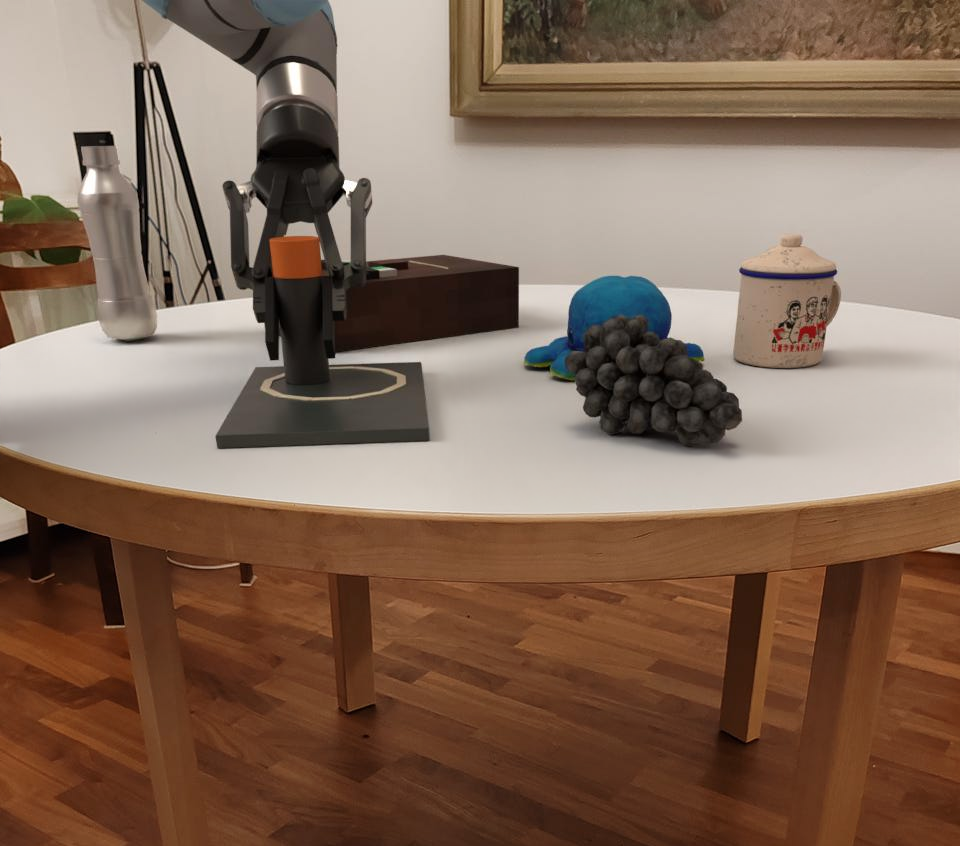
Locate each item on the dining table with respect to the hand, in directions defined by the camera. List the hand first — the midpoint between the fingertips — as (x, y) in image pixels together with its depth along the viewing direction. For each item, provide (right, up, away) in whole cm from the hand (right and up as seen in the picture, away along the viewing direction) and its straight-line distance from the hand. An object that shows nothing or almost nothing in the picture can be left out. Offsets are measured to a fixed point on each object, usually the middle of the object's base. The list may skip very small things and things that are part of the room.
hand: (300, 349), depth 84 cm
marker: (0, -1, +5) cm, 5 cm away
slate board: (+3, -5, +1) cm, 5 cm away
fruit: (+29, -10, -9) cm, 31 cm away
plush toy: (+29, +2, +13) cm, 32 cm away
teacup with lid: (+47, +3, +15) cm, 49 cm away
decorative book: (+5, +12, +33) cm, 35 cm away
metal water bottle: (-25, +10, +29) cm, 40 cm away
